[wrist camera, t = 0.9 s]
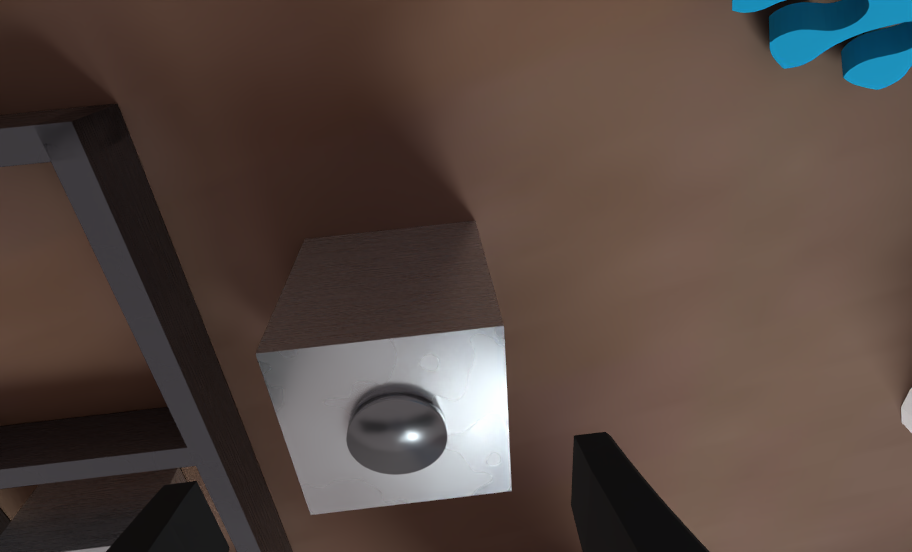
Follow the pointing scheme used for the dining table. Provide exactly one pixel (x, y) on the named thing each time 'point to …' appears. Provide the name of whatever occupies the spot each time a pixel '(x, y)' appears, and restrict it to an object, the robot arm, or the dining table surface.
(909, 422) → the beverage cup
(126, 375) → the dining table surface
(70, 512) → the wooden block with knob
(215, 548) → the robot arm
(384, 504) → the grey square block
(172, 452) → the grey flat rectangular frame
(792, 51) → the gear
